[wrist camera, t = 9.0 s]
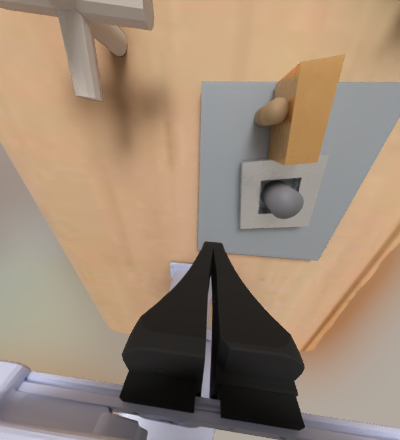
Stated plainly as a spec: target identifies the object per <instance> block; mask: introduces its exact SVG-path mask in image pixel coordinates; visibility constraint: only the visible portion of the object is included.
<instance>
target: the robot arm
mask: <svg viewBox="0 0 400 440" xmlns="http://www.w3.org/2000/svg"><path fill="white" fill-rule="evenodd" d="M170 273H171V285H170V288H169V291H168V294H167V295H165V296H164V297H163V298H162V299H161V300H160V301H159V302H158V303H157V304H156V305H154V306H153V307H152V308H151V309H149V310H148V311H147V312H146V313H144V314H143V315H142V316H141V317H140V319H139V320H138V322H137V323H136V325H135V327H134V329H133V330H132V332H131V334H130V336H129V338H128V341H127V343H126V346H125V348H124V350H123V353H122V357H123V361H124V362H125V364H126V366H127V368H128V370H129V372H128V375H127V377H126V380H125V383H124V385H119V384H113V383H107V382H101V381H94V380H88V379H81V378H75V377H68V376H62V375H55V374H49V373H43V372H37V371H31V369H30V368H29V367H27V366H26V365H24V364H21V363H17V362H13V361H6V360H0V440H213V435H214V433H215V431H216V429H219V430H226V431H231V432H237V433H243V434H249V435H254V436H261V437H266V438H272V439H278V440H400V428H396V427H389V426H383V425H377V424H370V423H364V422H357V421H351V420H345V419H338V418H332V417H325V416H319V415H312V414H306V413H301V412H300V408H299V405H298V402H297V399H296V396H298V392H297V389H296V386H295V382H294V380H296V379H297V378H298V377H299V376H300V375H301V374H302V372H303V370H304V363H303V360H302V358H301V355H300V353H299V351H298V349H297V346H296V344H295V342H294V340H293V338H292V336H291V335H290V334H289V333H288V332H287V331H286V330H285V329H284V328H283V327H282V326H281V325H280V324H279V323H278V322H277V321H276V320H275V319H274V318H273V317H272V316H271V315H270V314H269V313H268V312H267V311H266V310H265V309H264V308H263V307H262V305H261V304H260V303H259V302H258V301H257V300H256V299H255V297H254V296H253V295H252V294H251V293H250V291H249V290H248V289H247V287H246V286H245V285H244V283H243V282H242V280H241V279H240V277H239V276H238V274H237V273H236V271H235V269H234V268H233V266H232V264H231V262H230V260H229V258H228V256H227V254H226V252H225V249H224V246H223V244H222V243H219V242H207V241H205V242H204V243H203V246H202V249H201V251H200V253H199V254H198V256H197V258H196V260H195V261H194V263H193V264H188V263H177V262H171V263H170ZM211 299H212V309H213V312H212V330H211V329H209V325H210V300H211ZM112 411H113V412H119V415H116V414H113V413H112Z"/></svg>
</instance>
